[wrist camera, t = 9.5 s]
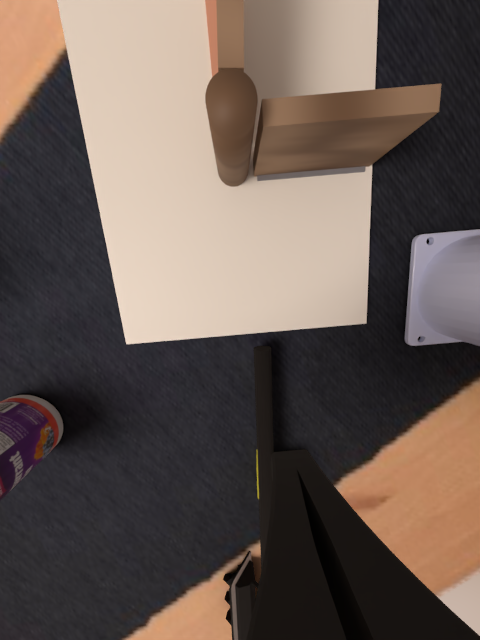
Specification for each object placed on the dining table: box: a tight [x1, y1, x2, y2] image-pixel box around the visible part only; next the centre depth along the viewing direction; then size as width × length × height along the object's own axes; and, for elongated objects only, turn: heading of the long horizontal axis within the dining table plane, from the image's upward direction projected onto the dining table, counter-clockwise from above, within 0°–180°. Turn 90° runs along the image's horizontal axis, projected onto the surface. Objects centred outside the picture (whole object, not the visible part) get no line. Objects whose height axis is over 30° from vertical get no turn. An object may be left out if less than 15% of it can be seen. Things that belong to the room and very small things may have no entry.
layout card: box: [57, 0, 378, 344], centre depth 14 cm, size 18×24×1 cm
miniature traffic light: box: [223, 346, 274, 640], centre depth 20 cm, size 7×6×30 cm
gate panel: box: [216, 0, 244, 72], centre depth 10 cm, size 8×1×5 cm, turn 0°
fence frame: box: [205, 68, 441, 187], centre depth 12 cm, size 10×2×6 cm, turn 95°
